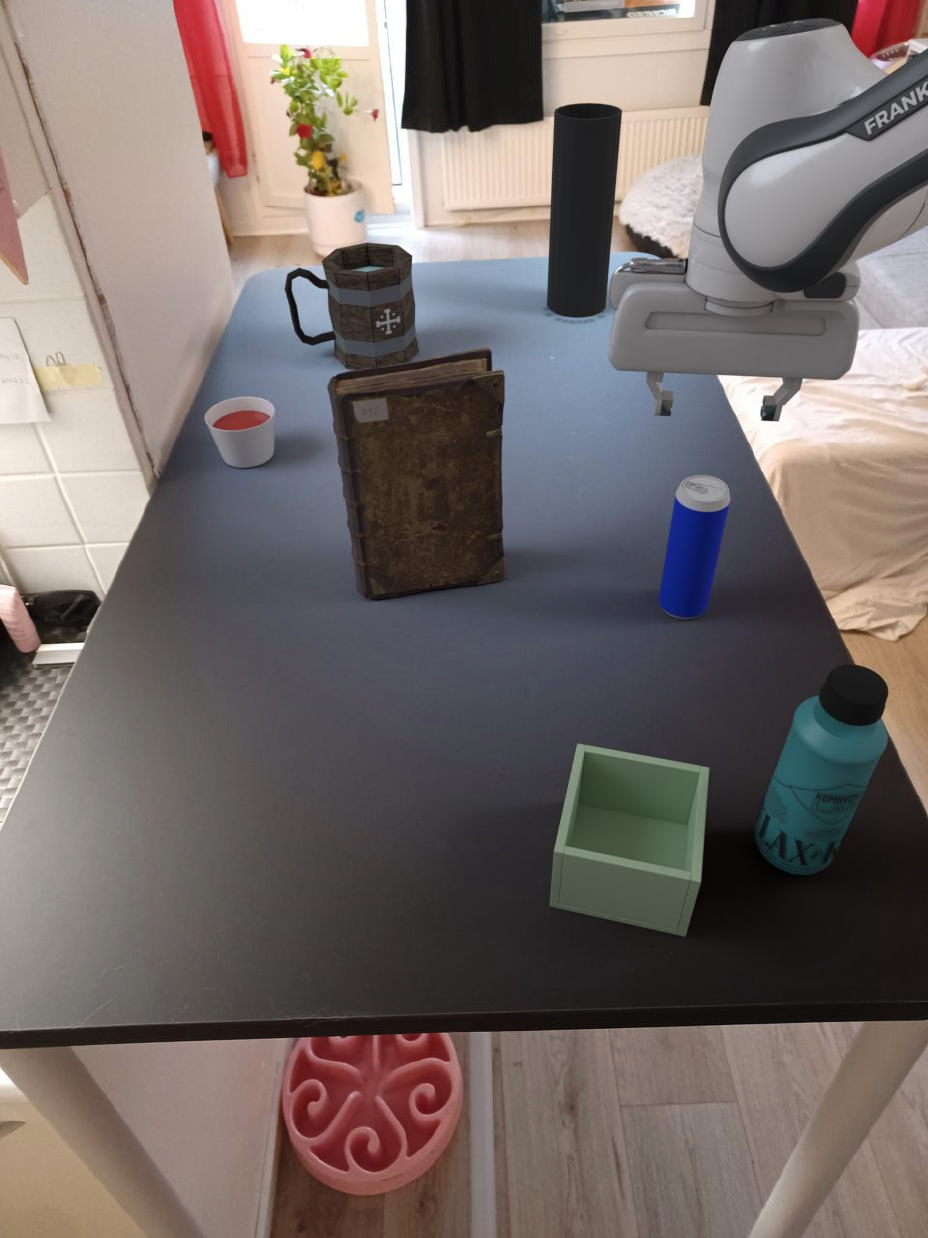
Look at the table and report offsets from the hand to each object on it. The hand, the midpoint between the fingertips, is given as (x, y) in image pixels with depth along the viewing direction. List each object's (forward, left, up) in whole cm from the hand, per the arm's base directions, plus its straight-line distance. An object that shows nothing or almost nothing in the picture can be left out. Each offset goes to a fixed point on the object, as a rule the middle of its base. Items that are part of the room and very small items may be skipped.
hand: (715, 415), depth 80 cm
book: (+28, +2, -23) cm, 36 cm away
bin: (+2, +34, -22) cm, 40 cm away
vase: (+24, -75, -23) cm, 82 cm away
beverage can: (0, +1, -23) cm, 23 cm away
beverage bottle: (-11, +29, -23) cm, 39 cm away
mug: (+55, -49, -23) cm, 77 cm away
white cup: (+59, -17, -23) cm, 65 cm away
